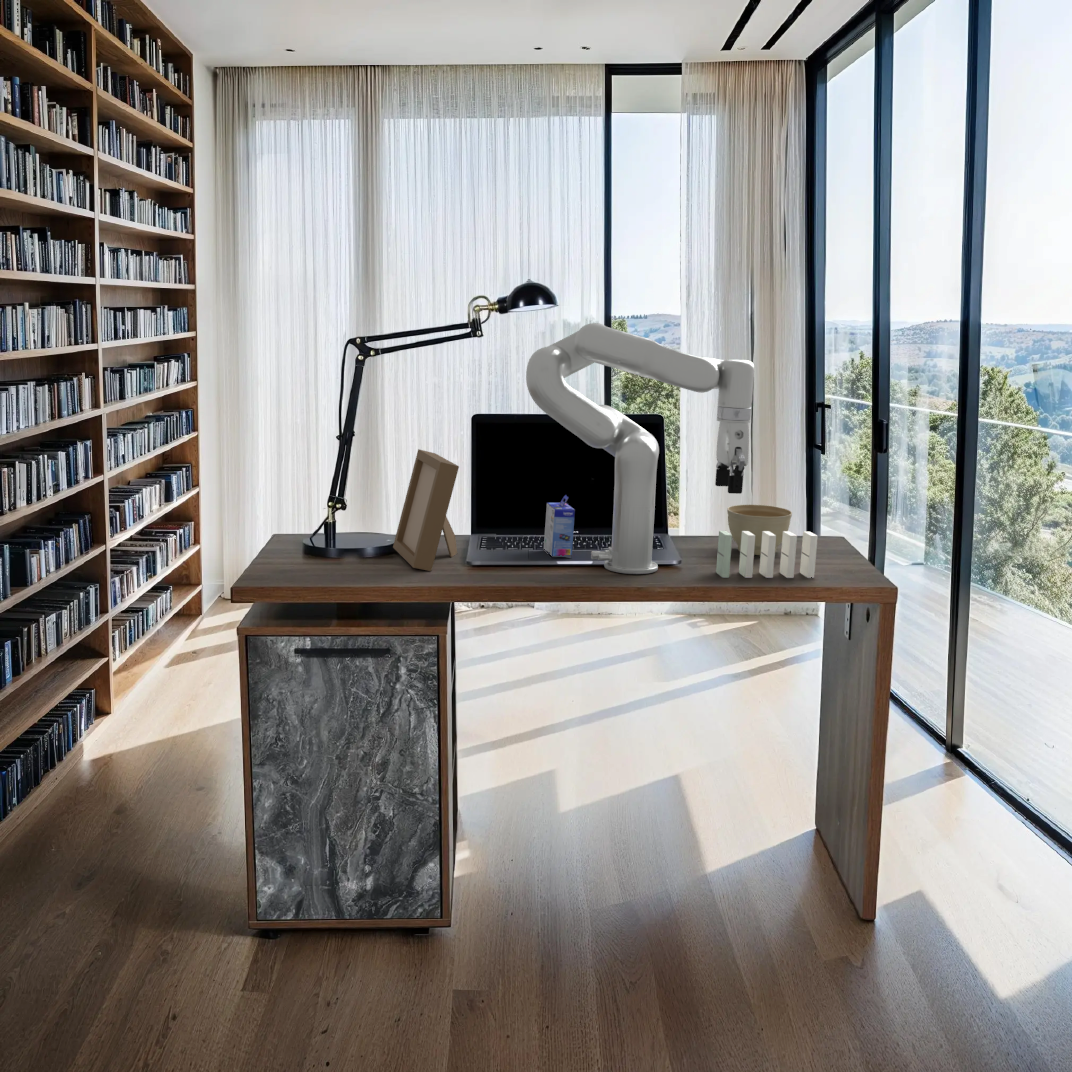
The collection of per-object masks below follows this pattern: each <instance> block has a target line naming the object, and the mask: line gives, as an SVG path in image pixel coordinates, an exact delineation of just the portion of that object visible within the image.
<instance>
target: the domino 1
mask: <svg viewBox="0 0 1072 1072" xmlns="http://www.w3.org/2000/svg"><path fill="white" fill-rule="evenodd" d="M732 539H733V537H732V535H731V532H728V531H727V530H718V539H717V540H718V543H717V555H716V556H717V557H716V566H715V567H716V570H715V573H716V574H717V575H719V576H720V577H721V578H727V579H728V578H730V572H731V571H730V568H731V558H732V557H731V555H732V542H733V541H732Z"/></svg>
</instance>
